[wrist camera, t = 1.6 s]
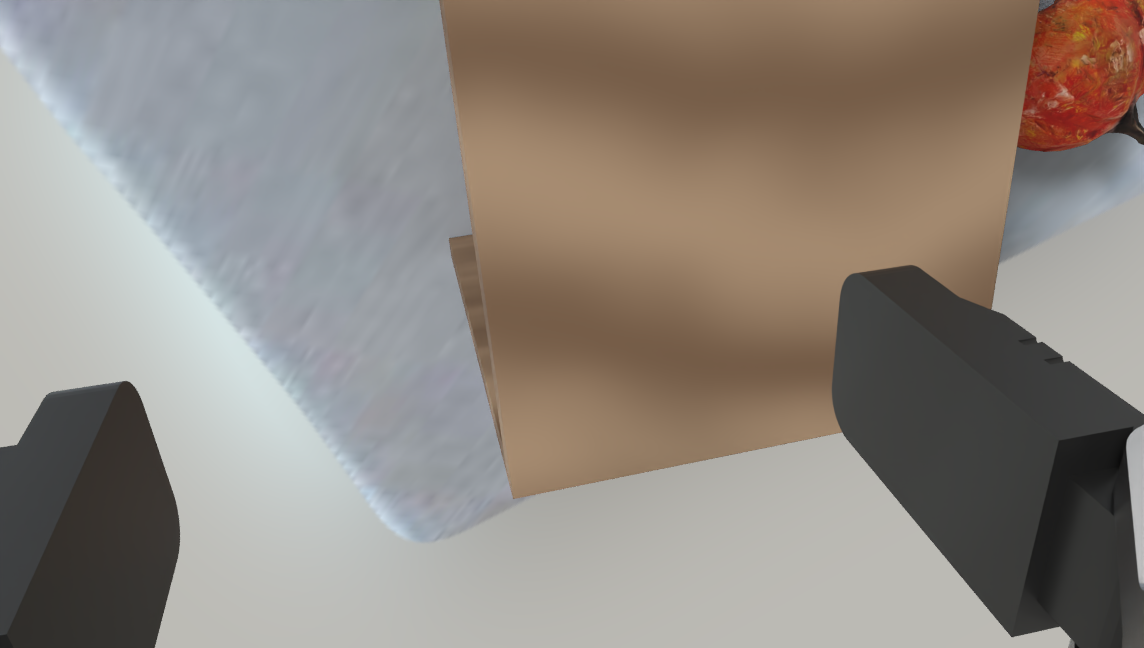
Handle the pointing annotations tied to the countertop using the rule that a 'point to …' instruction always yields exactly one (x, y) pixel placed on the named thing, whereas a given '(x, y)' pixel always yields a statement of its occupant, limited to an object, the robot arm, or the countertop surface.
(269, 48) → the countertop surface
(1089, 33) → the pomegranate
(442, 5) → the cubby
